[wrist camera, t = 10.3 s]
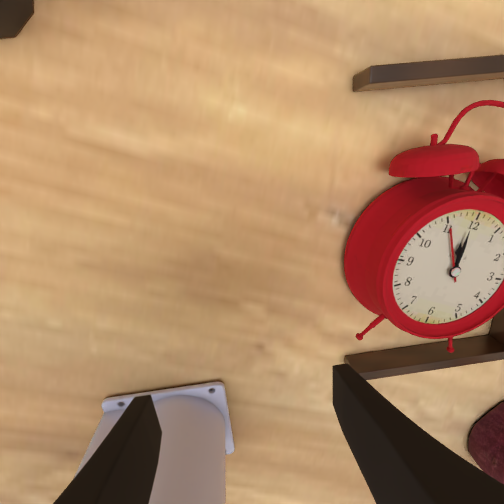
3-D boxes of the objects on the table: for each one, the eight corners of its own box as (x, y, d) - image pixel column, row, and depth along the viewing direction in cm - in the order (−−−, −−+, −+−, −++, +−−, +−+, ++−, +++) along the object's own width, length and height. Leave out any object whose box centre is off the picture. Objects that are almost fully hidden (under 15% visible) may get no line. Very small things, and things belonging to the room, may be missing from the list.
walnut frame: (344, 363, 23) (355, 382, 21) (353, 76, 16) (370, 65, 14) (495, 341, 24) (518, 357, 22) (569, 57, 16) (614, 45, 15)
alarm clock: (337, 348, 17) (502, 76, 10) (314, 285, 23) (408, 76, 15) (475, 365, 19) (709, 143, 11) (424, 303, 24) (559, 122, 17)
